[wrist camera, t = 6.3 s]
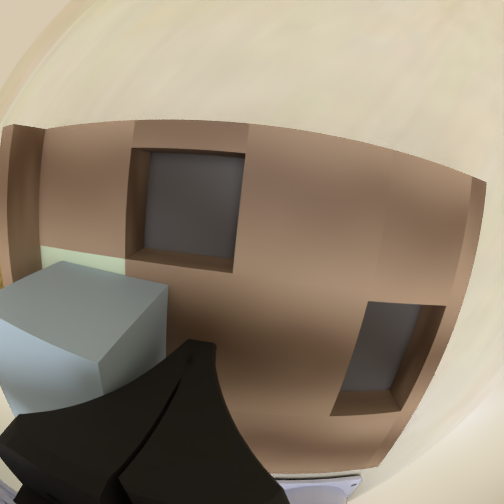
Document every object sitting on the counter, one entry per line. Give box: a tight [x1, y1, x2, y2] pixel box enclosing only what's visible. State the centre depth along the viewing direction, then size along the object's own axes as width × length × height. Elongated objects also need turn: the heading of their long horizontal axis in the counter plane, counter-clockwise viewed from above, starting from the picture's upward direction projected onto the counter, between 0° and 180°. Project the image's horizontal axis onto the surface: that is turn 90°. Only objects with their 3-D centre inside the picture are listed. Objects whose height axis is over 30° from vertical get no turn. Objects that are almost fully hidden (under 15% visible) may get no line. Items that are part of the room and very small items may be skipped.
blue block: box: [0, 260, 168, 418], centre depth 8 cm, size 5×5×5 cm
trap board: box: [0, 120, 486, 474], centre depth 10 cm, size 17×19×4 cm
